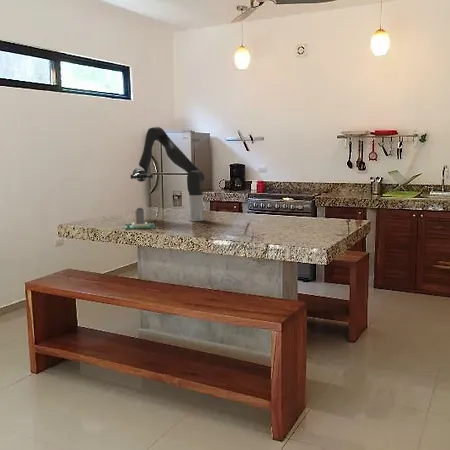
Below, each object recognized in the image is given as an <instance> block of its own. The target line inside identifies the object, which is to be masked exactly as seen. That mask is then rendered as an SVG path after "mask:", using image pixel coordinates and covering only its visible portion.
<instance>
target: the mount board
mask: <svg viewBox="0 0 450 450" xmlns="http://www.w3.org/2000/svg"><path fill="white" fill-rule="evenodd" d="M134 228H153V229H156V225H155V223H154V222H149V223H148V222H147V221H144V224H136V221H134V222H129V223H127V222H126V223H124V230H125V229H131V230H135V229H134Z"/></svg>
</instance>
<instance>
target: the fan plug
mask: <svg viewBox="0 0 450 450" xmlns="http://www.w3.org/2000/svg"><path fill="white" fill-rule="evenodd" d="M134 214H135V222H136V224H144V222H145V216H144V215H145V213H144V208H143V207H136V208H135V213H134Z"/></svg>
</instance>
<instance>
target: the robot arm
mask: <svg viewBox="0 0 450 450" xmlns="http://www.w3.org/2000/svg"><path fill="white" fill-rule="evenodd" d="M156 141H157V142H159V143H160V144H161V145H162V146H163V148H164V150H165V153H166V155H167V157H168V158H169V159H170V160H171V161H172V163H173V164H175V165H176V166H177V167H179V168H180V169H182V170H184V171H185V172H186V173H187V176H186V185H187V186H186V187H187V192H188V208H189V210H188V212H189V216H188V217H189V221H190V222H203V221H205V216H204V215H205V210H204V209H205V208H204V196H203V195H204V191H203V190H202V189H201V184H203V183H204V182H205V174H204V172H203V171H201V170H200V169H199V167H197V166H196V165H195V164H193V162H192V161H191V160H190V159H189V158H188V157H187V155H186V154H184V152H183V151H182V150H181V149H180V148H179V147H178V146H177V145H176V143H174V142H173V141H172V140H171V138H170V137H169V135H168V134H167V133H166V132H165V130H164V129H163V128H162V127H160V126H151V127H149V128H148V129H147V132H146V136H145V141H144V147H143V151H142V154H141V156H140V159H139V162H138V165H139V167H140V168H138V167H137V168H134V169H133V170H132V174H130V179H131V180H137V181H138V182H140V183H141V182H145V181H146V180H149V179H153V178H154V174H152V173H149V167H150V164H151V162H152V158H153V152H152V151H153V146H154V145H155V144H154V143H155V142H156ZM141 168H142V169H141Z"/></svg>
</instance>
